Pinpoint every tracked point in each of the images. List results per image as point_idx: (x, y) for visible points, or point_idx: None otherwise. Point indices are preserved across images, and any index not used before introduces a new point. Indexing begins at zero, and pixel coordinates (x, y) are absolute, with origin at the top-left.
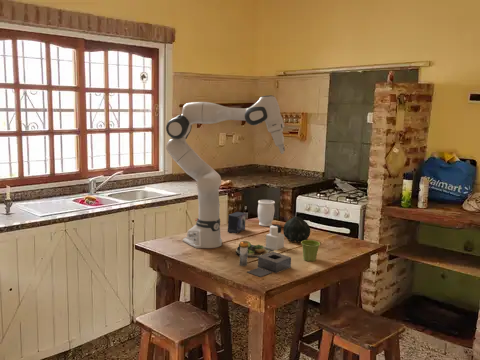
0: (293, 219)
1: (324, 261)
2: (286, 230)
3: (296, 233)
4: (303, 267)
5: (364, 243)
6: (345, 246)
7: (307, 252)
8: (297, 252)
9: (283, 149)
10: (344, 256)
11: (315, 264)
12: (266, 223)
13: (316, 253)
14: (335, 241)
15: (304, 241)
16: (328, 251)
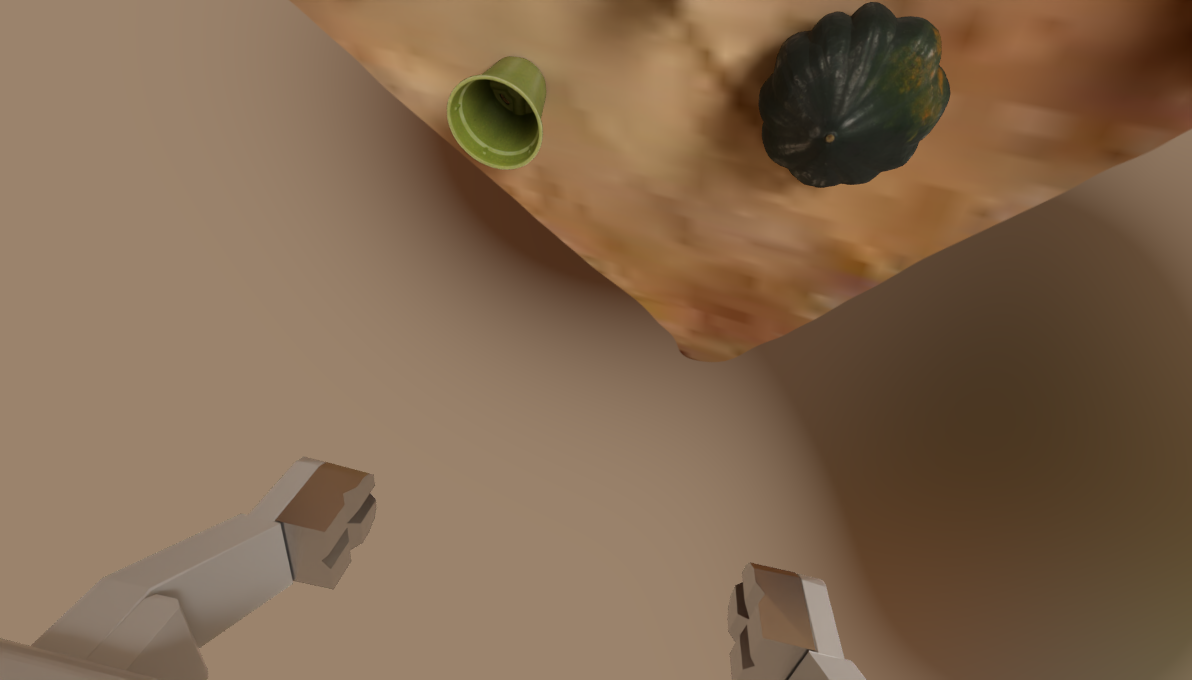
0: (831, 111)
1: None
2: (825, 28)
3: (767, 88)
4: (405, 34)
5: (739, 335)
6: (707, 270)
7: (472, 86)
8: (617, 42)
9: (745, 627)
10: (582, 232)
11: None
12: None
13: (494, 128)
14: (781, 255)
15: (526, 99)
16: (640, 193)
